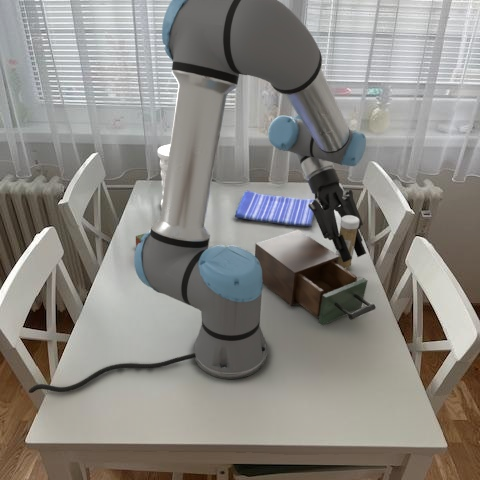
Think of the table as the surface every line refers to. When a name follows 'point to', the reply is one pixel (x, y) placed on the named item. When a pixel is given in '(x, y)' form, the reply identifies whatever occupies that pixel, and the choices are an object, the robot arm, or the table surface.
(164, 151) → the decorative container
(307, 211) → the dish towel
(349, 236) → the sprinkles bottle
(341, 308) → the drawer
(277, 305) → the table surface
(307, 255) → the cabinet
